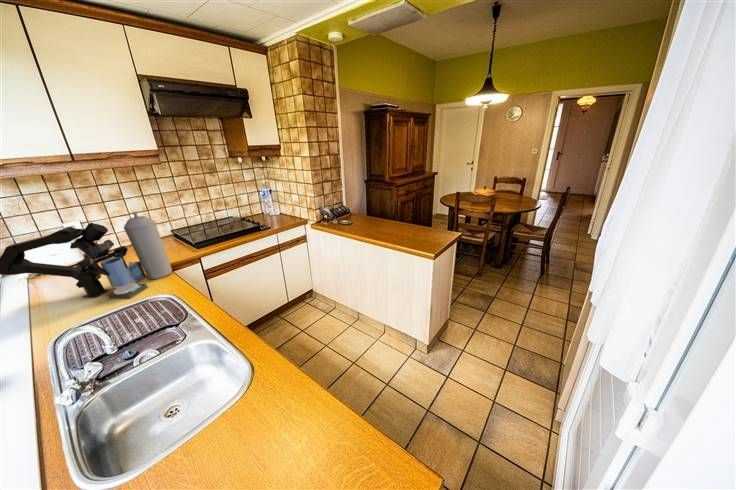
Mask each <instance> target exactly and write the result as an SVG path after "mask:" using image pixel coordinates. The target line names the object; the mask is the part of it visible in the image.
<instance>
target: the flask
mask: <svg viewBox="0 0 736 490" xmlns="http://www.w3.org/2000/svg"><path fill="white" fill-rule="evenodd" d="M127 264H128V265H127V266H128V267H127V268H126V269H127V271H128V273H129V275H130V277H131V280H132V281H131V282H130V283H129V284H131V283H137V284H138V282H140V281H141V280H142V279H144V278H146V277H147V275H146V273H145V271H144V269H143V267H142V265H141V263H140V261H139V260H135V261H133V262H132V261H127Z"/></svg>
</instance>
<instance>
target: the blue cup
mask: <svg viewBox="0 0 736 490" xmlns="http://www.w3.org/2000/svg"><path fill="white" fill-rule="evenodd" d="M100 267H101V268H103V269H104V270H105V271H107V272H108V273H109V274H110V275H109V276H106V278H107V280H108V282H109V284H110V286H111V287H112V288H119V287H121V286H124V285H127V284H130V282H131V281H132V280H131V277H130V275H129V273H128V271H127V269H126V266H125V264H124V262H123V260H122V258H121V257H116V258H115V257H112V258H109V259H107V260H104V261H102V262H100Z"/></svg>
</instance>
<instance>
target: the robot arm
mask: <svg viewBox="0 0 736 490" xmlns="http://www.w3.org/2000/svg"><path fill="white" fill-rule="evenodd" d="M108 232H109V229H108V227H106V226H105V225H102V224H99V223H94V222H92V221H91V222H89V223H88V224H87V225H86V227H85V228H76V227H72V226H66V227H64V228H60V229H59V230H56V231H54V232H52V233H50V234H47V235H43V236H39V237H36V238H32V239H28V240H23V241H21V242H14V243H13V244H9V245H8V246H6V247H5V248H4V249H3V252H2V254H1V255H0V275H1V276H15V275H23V274H33V275H44V276H54V277H55V276H56V277H64V278H65V277H66V278H73V279H74V280H76V281H77V282H76V284H75V286H76V287H77V288H79V289H82V288H83V290H84V292H85V295H83V298H97V297H98V296H100V295H102V294H104V293H105V292H108V291H109V289H108V288H105V287H104V286H103V284H102V283H101V281H100V280H99V279H101V278H102V275H103V276H106V277H107V276H109V275H110V274H109V273H108V272H107V271H105V270H104V269H103V268H102V266H101V265H99V263H101V262H103V261H105V260H108V259H111V258H116V257H121V258H122V260H123V262H124V264H125V266H126V268H127V267H128V266H129V265H128V263H127V262H126V260H125V256H126V255H127V253H128V250H129V248H128V247H126V245H120V246H118V247H116V248H114V249H113V252H110V249H112V248H113V247H114V246H115V243H114V242H113V240H111V239H106V240H104V241H103V242H102V243H97V242H98V241H99V242H100V241H101V240H102V239H103V237H104V236H105V235H106V234H107V233H108ZM72 241H73V242H72ZM68 243H70V246H69V248H70V249H71V250H72V249H79V250H80V251H81V252H83V254H85V255H84V256H85V257H86V258H85V259H82V260H80V261H78V262H77V263H76V266H69V265H60V264H51V263H41V262H33V261H30V260H28V259H27V258H25V257H26V254H25V252H27V251H31V250H35V249H38V248H42V247H46V246H50V245H61V244H68Z"/></svg>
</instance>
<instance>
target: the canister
mask: <svg viewBox="0 0 736 490" xmlns="http://www.w3.org/2000/svg"><path fill="white" fill-rule="evenodd" d="M138 214H139V212H138V211H135V212H132V213H131V215H133V217H130V218H129V219H127V220H126V223H125V224H124V225H123V230H124V232H125V234H126V236H127V237H128V240H129V243H130V244H131V246H132V248H133V250H134V252H135V255H136V257H137V258H138V261H140V263H141V265H142V268H143V270H144V272H145V275H146V277H147V278H148V279H149V280H157V279H158V280H159V279H161V278H165V277H166V276H169V275H170V274H171V273H172V272H173V268H172V265H171V262H170V260H169V257H168V254H167V251H166V248H165V245H164V243H163V240H162V237H161V234H160V232H159V228H158V226H157V223H156V222H157V221H155V220H154V219H152V218H150V217H148V216H145V215H141V216H138Z"/></svg>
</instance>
